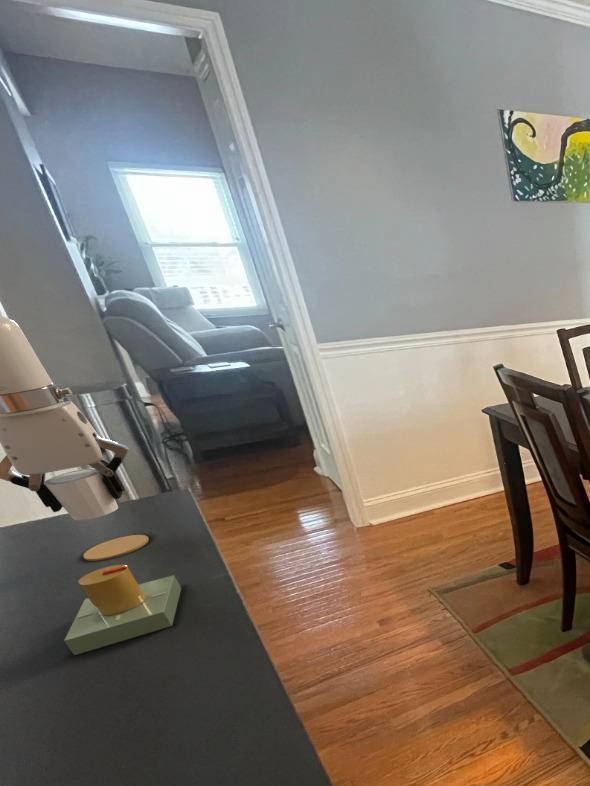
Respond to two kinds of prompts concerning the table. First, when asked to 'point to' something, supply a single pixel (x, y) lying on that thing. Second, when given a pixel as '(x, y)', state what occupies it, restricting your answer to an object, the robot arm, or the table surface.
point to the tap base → (125, 618)
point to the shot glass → (82, 494)
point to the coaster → (115, 547)
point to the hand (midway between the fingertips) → (89, 501)
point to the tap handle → (112, 589)
